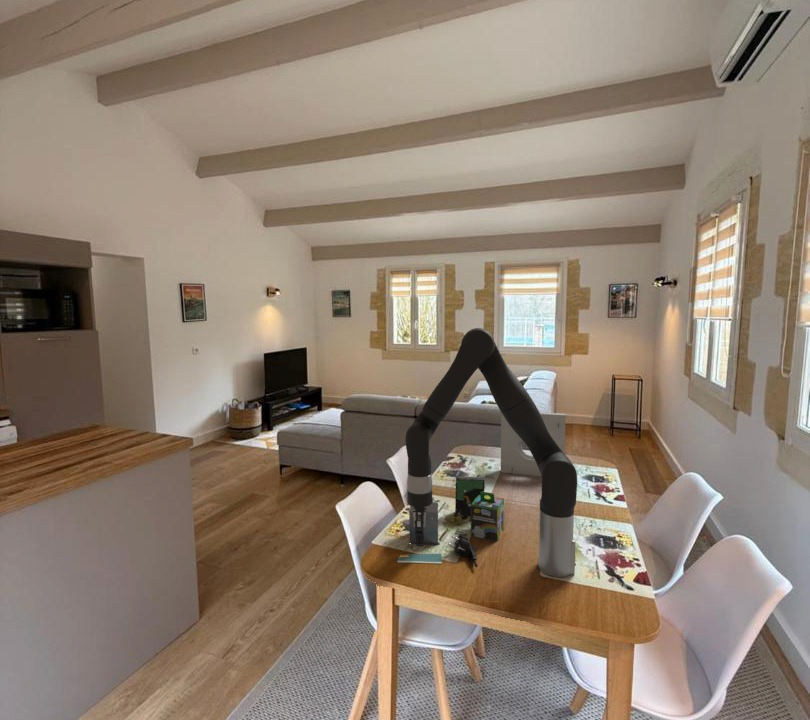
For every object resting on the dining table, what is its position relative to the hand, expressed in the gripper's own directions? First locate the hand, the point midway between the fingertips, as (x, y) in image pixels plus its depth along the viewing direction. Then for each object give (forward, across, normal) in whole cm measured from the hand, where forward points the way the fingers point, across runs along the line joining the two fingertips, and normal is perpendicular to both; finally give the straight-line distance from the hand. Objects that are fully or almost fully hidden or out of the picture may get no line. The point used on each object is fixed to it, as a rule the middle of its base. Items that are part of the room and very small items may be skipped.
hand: (419, 542), depth 133 cm
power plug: (+1, -8, -14) cm, 16 cm away
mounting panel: (+4, +64, -47) cm, 80 cm away
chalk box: (+4, +14, -22) cm, 27 cm away
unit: (+4, +10, -1) cm, 10 cm away
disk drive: (+4, +26, -17) cm, 32 cm away
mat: (+4, 0, 0) cm, 4 cm away
